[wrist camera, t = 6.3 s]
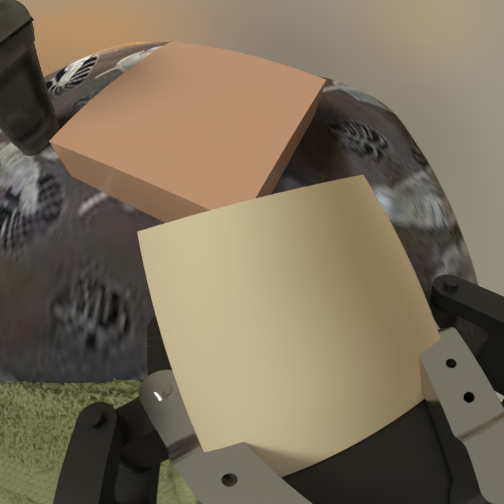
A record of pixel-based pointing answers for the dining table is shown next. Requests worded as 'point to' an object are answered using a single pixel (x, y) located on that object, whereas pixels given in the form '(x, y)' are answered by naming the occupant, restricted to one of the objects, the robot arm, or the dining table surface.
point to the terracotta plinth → (190, 130)
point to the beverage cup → (23, 83)
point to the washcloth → (59, 438)
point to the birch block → (290, 321)
